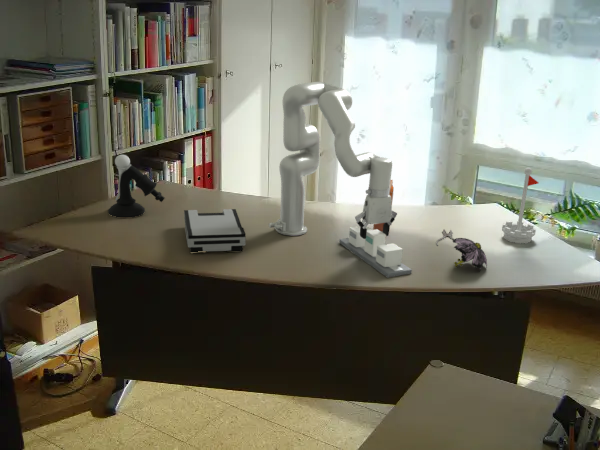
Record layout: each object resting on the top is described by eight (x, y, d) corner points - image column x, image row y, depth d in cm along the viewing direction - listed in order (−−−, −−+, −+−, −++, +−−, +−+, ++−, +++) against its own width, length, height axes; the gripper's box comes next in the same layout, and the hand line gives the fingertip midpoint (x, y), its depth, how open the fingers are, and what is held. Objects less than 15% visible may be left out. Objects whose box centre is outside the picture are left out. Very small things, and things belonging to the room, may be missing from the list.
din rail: (394, 271, 242) (395, 270, 242) (347, 238, 271) (347, 237, 270) (403, 270, 243) (403, 269, 243) (355, 237, 272) (355, 236, 272)
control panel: (390, 228, 288) (387, 240, 274) (373, 226, 289) (369, 238, 276) (394, 178, 281) (392, 189, 267) (377, 177, 282) (373, 187, 268)
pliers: (437, 246, 270) (428, 228, 289) (437, 248, 270) (427, 230, 289) (462, 247, 270) (451, 229, 289) (462, 249, 270) (450, 231, 289)
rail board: (387, 277, 241) (387, 273, 240) (339, 242, 270) (339, 239, 270) (411, 273, 245) (411, 269, 244) (361, 239, 274) (361, 236, 274)
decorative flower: (492, 253, 240) (454, 232, 245) (476, 282, 243) (439, 261, 248) (497, 250, 254) (461, 231, 259) (482, 278, 256) (446, 258, 261)
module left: (355, 247, 261) (356, 232, 259) (347, 242, 266) (348, 227, 264) (372, 245, 264) (373, 230, 262) (364, 239, 269) (365, 225, 267)
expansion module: (371, 256, 253) (373, 236, 251) (363, 250, 258) (365, 230, 256) (384, 254, 256) (385, 234, 253) (375, 249, 261) (377, 229, 258)
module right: (383, 267, 244) (385, 251, 242) (375, 261, 249) (376, 245, 247) (401, 264, 247) (402, 249, 245) (392, 258, 252) (393, 243, 250)
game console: (235, 225, 285) (235, 206, 282) (245, 254, 256) (245, 233, 253) (184, 226, 281) (184, 207, 278) (188, 256, 251) (188, 235, 249)
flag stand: (495, 238, 283) (505, 167, 272) (510, 230, 292) (520, 161, 282) (524, 247, 274) (536, 174, 264) (539, 239, 284) (551, 168, 273)
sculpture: (111, 206, 300) (108, 149, 291) (166, 207, 302) (165, 151, 293) (105, 217, 286) (101, 159, 277) (163, 218, 288) (161, 160, 279)
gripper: (363, 197, 242) (359, 242, 248) (404, 193, 249) (399, 237, 255) (352, 190, 248) (348, 235, 254) (393, 187, 256) (388, 230, 262)
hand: (374, 236), depth 255 cm, fingers open, 9 cm apart
